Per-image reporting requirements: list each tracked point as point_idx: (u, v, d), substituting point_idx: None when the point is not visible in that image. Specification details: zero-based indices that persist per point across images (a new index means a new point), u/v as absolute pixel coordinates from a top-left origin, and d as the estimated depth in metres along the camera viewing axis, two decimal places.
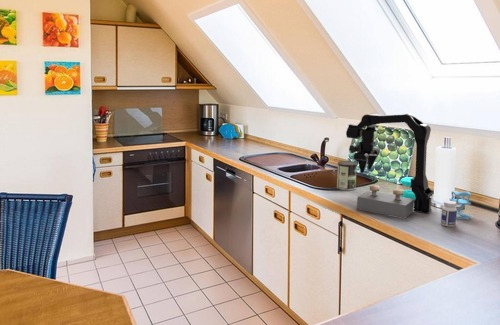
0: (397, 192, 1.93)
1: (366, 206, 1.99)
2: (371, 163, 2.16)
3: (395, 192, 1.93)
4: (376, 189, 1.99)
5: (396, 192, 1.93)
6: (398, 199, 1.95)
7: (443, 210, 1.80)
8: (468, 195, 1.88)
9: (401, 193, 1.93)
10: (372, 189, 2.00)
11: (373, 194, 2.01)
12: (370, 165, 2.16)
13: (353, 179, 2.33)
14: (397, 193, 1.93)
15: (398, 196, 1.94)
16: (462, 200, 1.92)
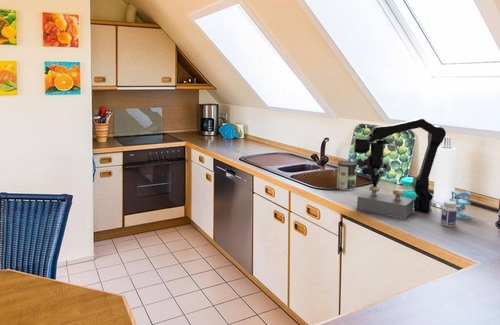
0: (397, 192, 1.93)
1: (366, 206, 1.99)
2: None
3: (395, 192, 1.93)
4: (376, 189, 1.99)
5: (396, 192, 1.93)
6: (398, 199, 1.95)
7: (443, 210, 1.80)
8: (468, 195, 1.88)
9: (401, 193, 1.93)
10: (372, 189, 2.00)
11: (373, 194, 2.01)
12: None
13: (353, 179, 2.33)
14: (397, 193, 1.93)
15: (398, 196, 1.94)
16: (462, 200, 1.92)
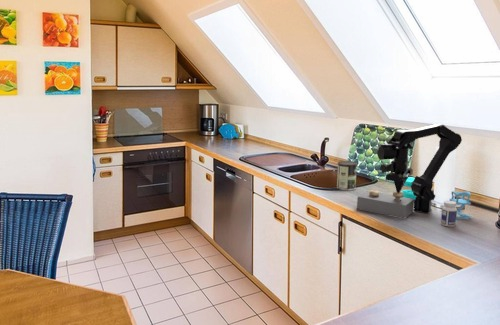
0: (397, 194, 1.93)
1: (366, 206, 1.99)
2: None
3: (395, 194, 1.94)
4: (376, 194, 2.00)
5: (396, 194, 1.93)
6: None
7: (443, 210, 1.80)
8: (468, 195, 1.88)
9: (401, 195, 1.93)
10: (372, 194, 2.00)
11: None
12: None
13: (353, 179, 2.33)
14: (397, 195, 1.93)
15: (398, 198, 1.94)
16: (462, 200, 1.92)
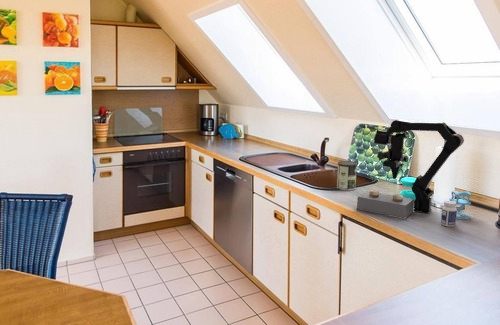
0: (397, 198, 1.93)
1: (366, 206, 1.99)
2: None
3: (395, 198, 1.94)
4: (376, 194, 2.00)
5: (396, 198, 1.94)
6: None
7: (443, 210, 1.80)
8: (468, 195, 1.88)
9: (401, 199, 1.93)
10: (372, 194, 2.00)
11: None
12: None
13: (353, 179, 2.33)
14: (397, 199, 1.93)
15: None
16: (462, 200, 1.92)
